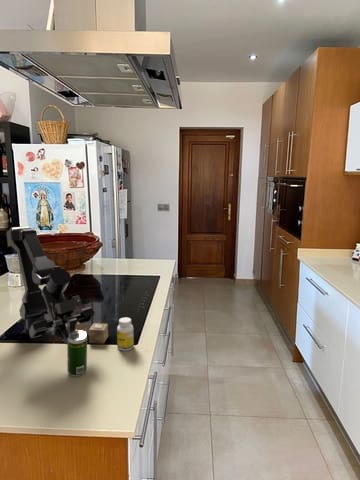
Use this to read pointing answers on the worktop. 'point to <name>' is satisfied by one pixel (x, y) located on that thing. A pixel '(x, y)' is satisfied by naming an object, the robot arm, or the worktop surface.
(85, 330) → the marked cube
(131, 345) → the supplement bottle
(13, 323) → the worktop surface
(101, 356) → the worktop surface
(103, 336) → the marked cube
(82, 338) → the beer can
